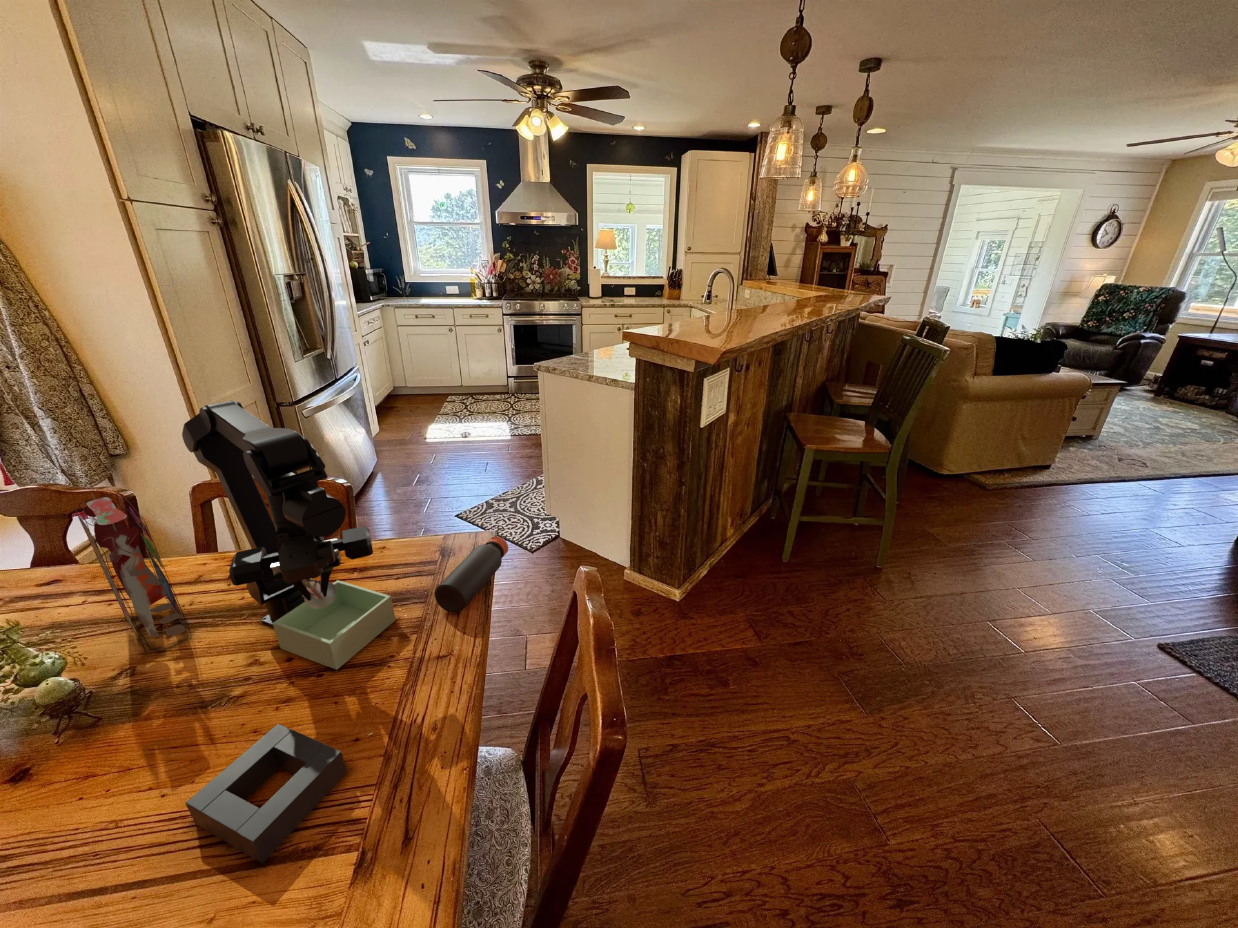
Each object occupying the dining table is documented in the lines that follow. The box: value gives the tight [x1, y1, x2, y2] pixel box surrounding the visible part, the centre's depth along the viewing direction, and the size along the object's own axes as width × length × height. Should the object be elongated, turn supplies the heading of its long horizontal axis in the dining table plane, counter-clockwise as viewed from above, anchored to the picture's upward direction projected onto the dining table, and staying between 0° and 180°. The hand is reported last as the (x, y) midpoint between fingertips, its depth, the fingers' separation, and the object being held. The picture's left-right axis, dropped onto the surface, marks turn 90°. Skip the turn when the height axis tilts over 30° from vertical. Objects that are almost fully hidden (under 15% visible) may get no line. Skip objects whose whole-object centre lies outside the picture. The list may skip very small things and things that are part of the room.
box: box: [73, 491, 193, 654], centre depth 88 cm, size 25×6×24 cm, turn 53°
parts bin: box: [272, 579, 397, 670], centre depth 89 cm, size 13×13×6 cm
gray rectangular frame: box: [185, 723, 348, 865], centre depth 62 cm, size 12×12×4 cm
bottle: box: [434, 535, 509, 614], centre depth 103 cm, size 7×7×20 cm
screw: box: [304, 578, 337, 609], centre depth 81 cm, size 13×5×5 cm
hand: (317, 597), depth 81 cm, fingers closed on screw, 2 cm apart
